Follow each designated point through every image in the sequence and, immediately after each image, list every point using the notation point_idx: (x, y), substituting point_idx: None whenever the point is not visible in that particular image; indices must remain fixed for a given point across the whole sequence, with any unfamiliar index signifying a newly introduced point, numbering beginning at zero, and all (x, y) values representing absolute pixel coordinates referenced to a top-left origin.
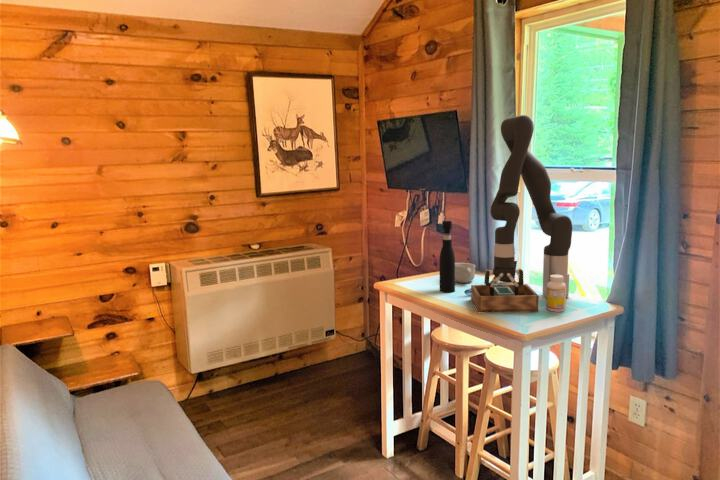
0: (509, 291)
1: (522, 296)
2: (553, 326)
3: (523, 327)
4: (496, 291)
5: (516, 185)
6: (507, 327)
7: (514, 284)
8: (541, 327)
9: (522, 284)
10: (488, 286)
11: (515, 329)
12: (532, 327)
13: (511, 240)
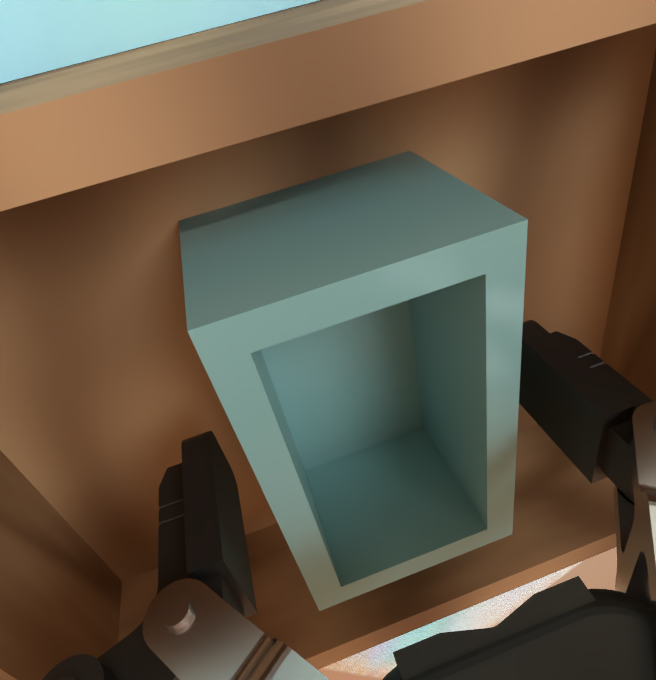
0: (475, 415)
1: (560, 566)
2: (568, 570)
3: (425, 634)
4: (286, 539)
5: None
6: (346, 665)
7: (618, 532)
8: (509, 600)
9: None
10: (16, 197)
11: (383, 664)
12: (468, 617)
13: None
